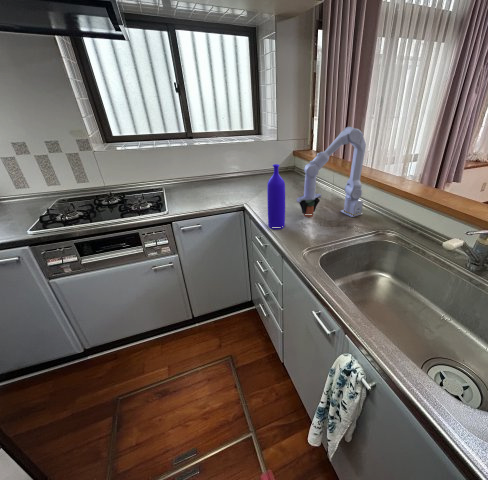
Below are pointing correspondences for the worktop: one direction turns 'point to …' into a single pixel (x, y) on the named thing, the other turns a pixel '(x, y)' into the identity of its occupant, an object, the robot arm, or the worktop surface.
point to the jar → (309, 211)
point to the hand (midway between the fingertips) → (308, 212)
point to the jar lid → (310, 202)
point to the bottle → (276, 200)
